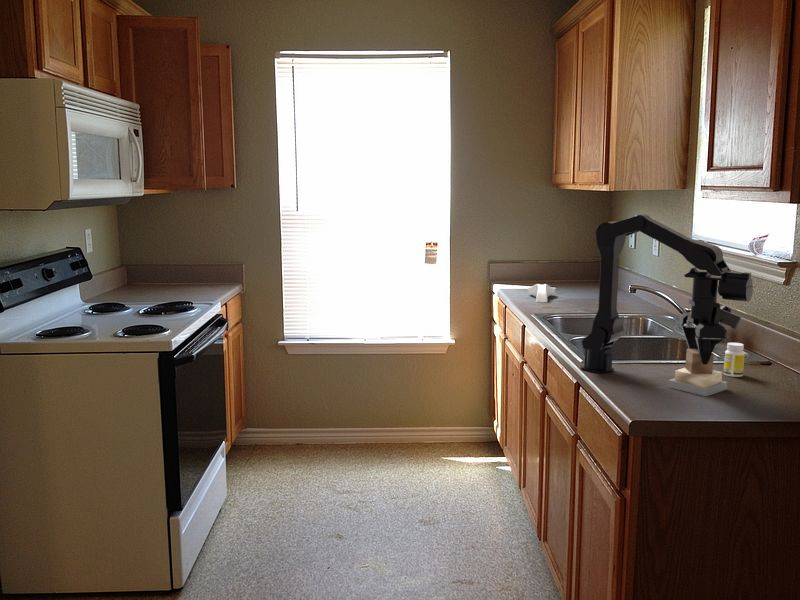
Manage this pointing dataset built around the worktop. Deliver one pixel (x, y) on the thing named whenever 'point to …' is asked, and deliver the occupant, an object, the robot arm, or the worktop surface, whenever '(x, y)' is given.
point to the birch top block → (698, 377)
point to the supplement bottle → (734, 360)
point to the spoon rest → (541, 292)
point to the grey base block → (697, 387)
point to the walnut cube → (698, 362)
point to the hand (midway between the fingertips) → (699, 359)
